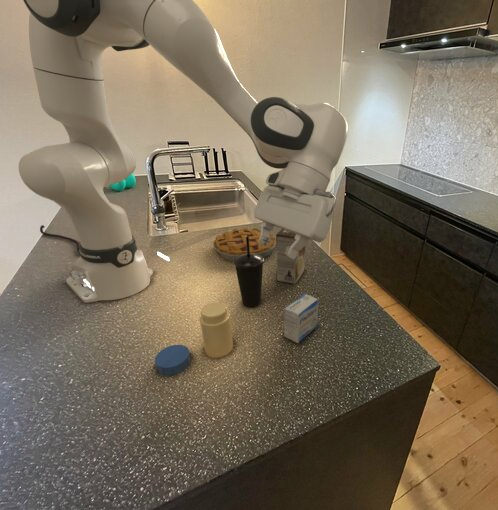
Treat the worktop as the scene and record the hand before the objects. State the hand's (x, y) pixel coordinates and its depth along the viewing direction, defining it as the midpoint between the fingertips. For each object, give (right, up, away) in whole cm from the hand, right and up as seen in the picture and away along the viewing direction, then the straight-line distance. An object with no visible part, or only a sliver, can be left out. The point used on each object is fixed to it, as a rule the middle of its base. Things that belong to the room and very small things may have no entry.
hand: (275, 250), depth 60 cm
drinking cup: (-12, -14, +25) cm, 31 cm away
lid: (-22, -22, +4) cm, 32 cm away
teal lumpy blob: (-104, +34, +104) cm, 151 cm away
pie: (-22, +1, +53) cm, 57 cm away
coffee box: (-3, -8, +39) cm, 40 cm away
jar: (-15, -22, +9) cm, 28 cm away
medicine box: (+3, -20, +16) cm, 26 cm away
